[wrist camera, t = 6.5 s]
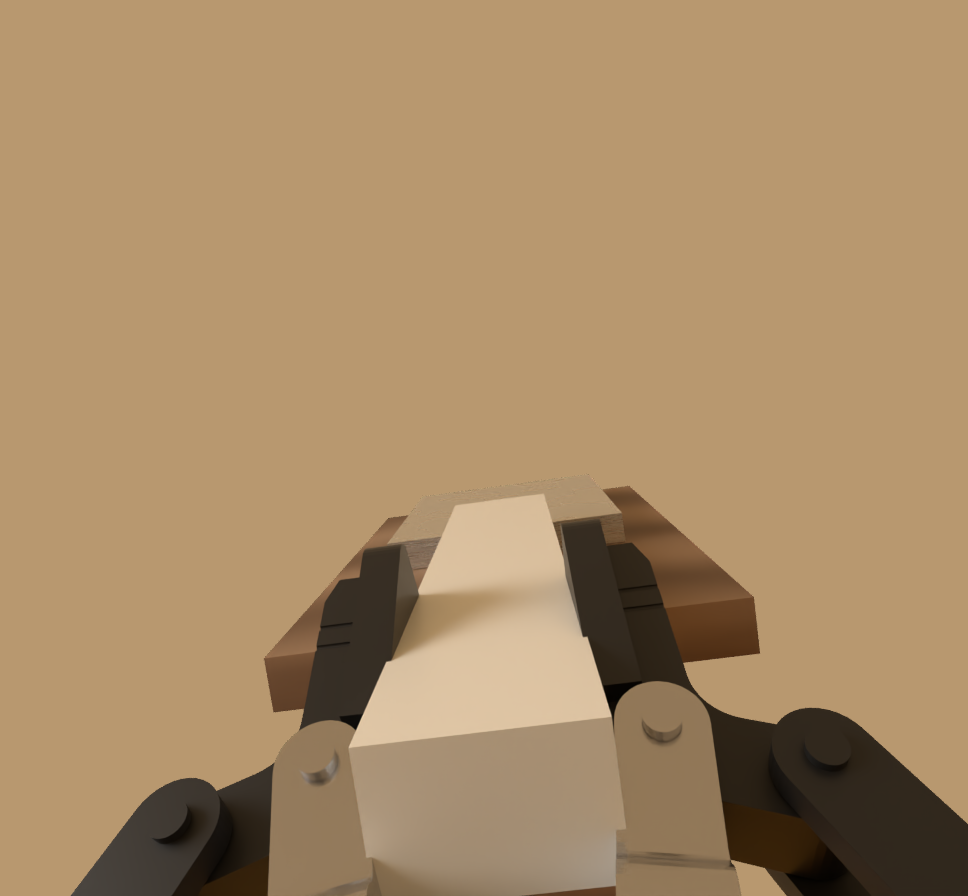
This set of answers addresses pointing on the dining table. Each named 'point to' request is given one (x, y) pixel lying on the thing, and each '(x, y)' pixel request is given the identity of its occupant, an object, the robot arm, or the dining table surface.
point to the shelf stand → (674, 558)
